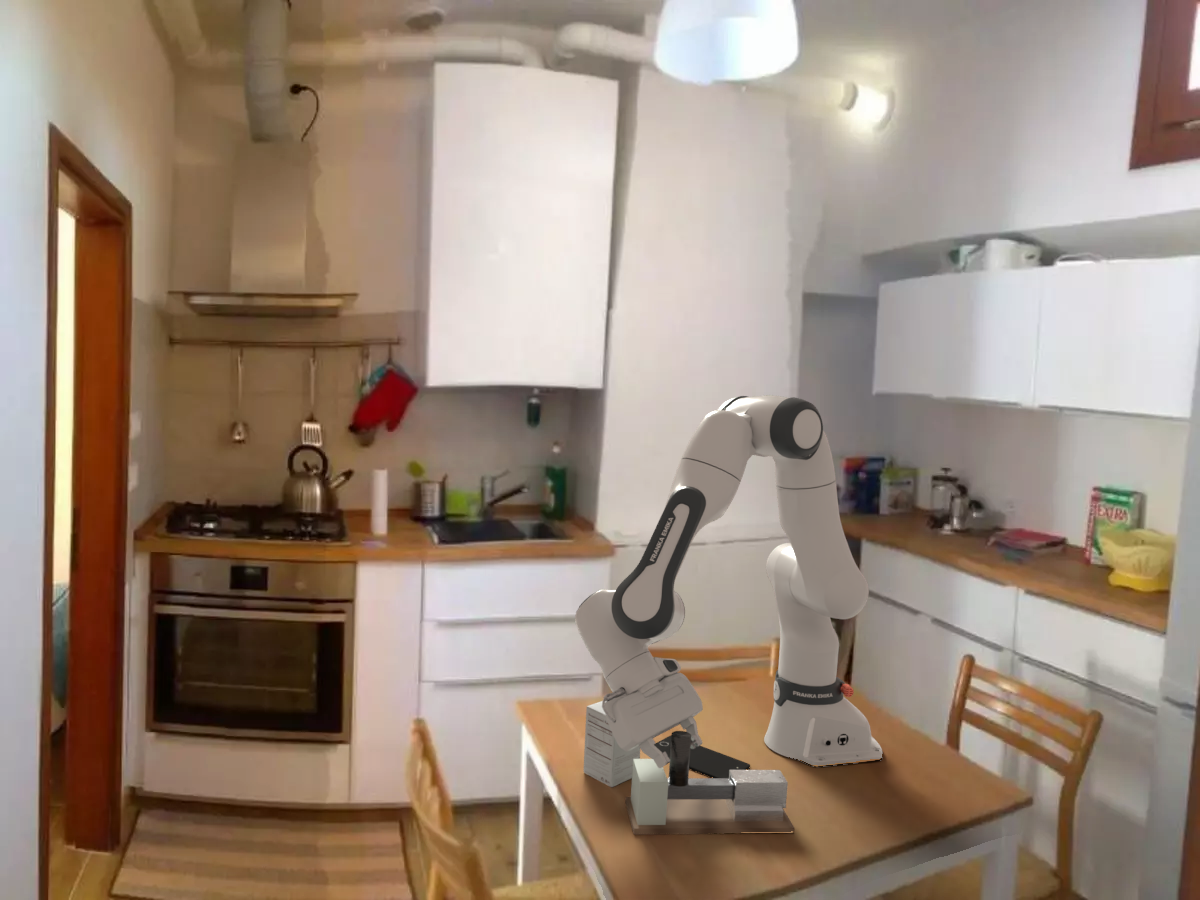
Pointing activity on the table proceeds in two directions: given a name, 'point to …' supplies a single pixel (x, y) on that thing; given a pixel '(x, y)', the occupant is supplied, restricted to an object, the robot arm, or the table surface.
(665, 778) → the socket
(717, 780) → the slide bolt
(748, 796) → the sleeve
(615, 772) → the supplement box
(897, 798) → the table surface
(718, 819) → the base board
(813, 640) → the robot arm
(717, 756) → the cell phone
